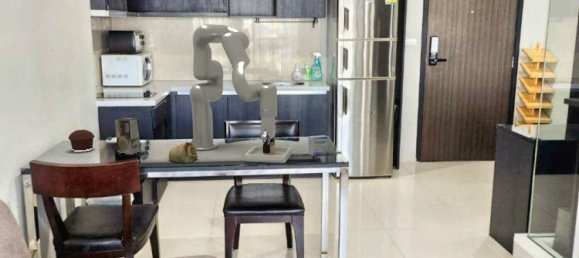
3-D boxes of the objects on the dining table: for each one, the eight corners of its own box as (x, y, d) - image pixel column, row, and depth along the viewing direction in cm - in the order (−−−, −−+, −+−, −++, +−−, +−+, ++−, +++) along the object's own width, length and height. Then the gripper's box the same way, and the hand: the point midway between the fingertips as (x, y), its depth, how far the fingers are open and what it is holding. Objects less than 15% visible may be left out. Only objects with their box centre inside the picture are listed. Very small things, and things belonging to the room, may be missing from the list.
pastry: (198, 162, 219) (198, 144, 217) (169, 164, 215) (168, 146, 214) (196, 155, 232) (195, 138, 231) (168, 157, 229) (167, 140, 227)
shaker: (262, 156, 225) (262, 143, 224) (265, 153, 230) (264, 141, 229) (273, 156, 224) (273, 143, 223) (275, 154, 229) (275, 141, 228)
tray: (244, 161, 220) (244, 154, 220) (254, 152, 238) (254, 146, 237) (284, 163, 217) (284, 156, 217) (292, 153, 235) (292, 147, 234)
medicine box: (313, 156, 230) (313, 137, 228) (308, 154, 234) (308, 136, 232) (327, 154, 233) (328, 136, 232) (322, 152, 237) (323, 134, 236)
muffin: (94, 147, 249) (93, 127, 247) (96, 151, 239) (95, 131, 238) (68, 149, 244) (66, 129, 242) (69, 154, 234) (67, 133, 233)
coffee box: (141, 152, 239) (139, 118, 236) (131, 155, 233) (129, 120, 230) (126, 150, 242) (124, 117, 239) (116, 153, 237) (114, 119, 234)
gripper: (264, 110, 233) (265, 146, 236) (255, 115, 216) (256, 154, 219) (280, 110, 232) (280, 147, 235) (272, 116, 215) (272, 155, 218)
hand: (268, 150), depth 227 cm, fingers open, 9 cm apart
